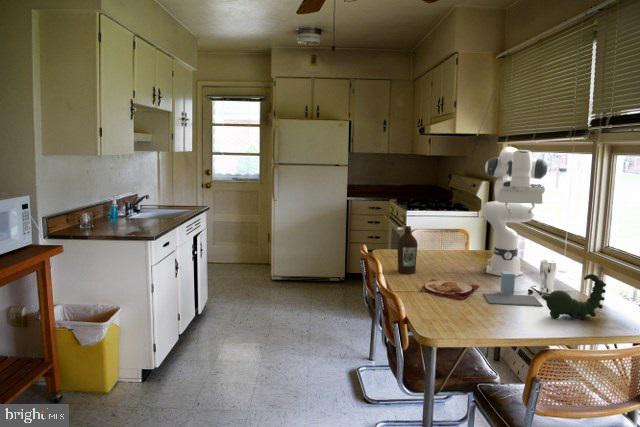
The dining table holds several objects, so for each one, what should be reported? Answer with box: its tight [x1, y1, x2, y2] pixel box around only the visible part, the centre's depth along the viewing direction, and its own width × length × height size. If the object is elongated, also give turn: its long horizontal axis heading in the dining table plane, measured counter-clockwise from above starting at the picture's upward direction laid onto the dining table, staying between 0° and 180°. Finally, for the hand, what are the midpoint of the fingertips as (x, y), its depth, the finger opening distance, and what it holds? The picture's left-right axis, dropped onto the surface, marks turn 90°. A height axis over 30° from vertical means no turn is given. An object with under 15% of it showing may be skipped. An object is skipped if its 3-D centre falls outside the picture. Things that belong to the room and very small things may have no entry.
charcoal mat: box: [483, 292, 544, 308], centre depth 220 cm, size 14×22×1 cm, turn 82°
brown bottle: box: [396, 225, 419, 275], centre depth 268 cm, size 11×11×25 cm
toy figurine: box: [540, 273, 607, 321], centre depth 197 cm, size 9×19×25 cm
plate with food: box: [418, 279, 480, 300], centre depth 236 cm, size 24×26×3 cm
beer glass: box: [539, 259, 557, 295], centre depth 232 cm, size 7×7×15 cm
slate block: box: [499, 271, 516, 295], centre depth 230 cm, size 5×5×10 cm
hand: (519, 212), depth 237 cm, fingers open, 8 cm apart
